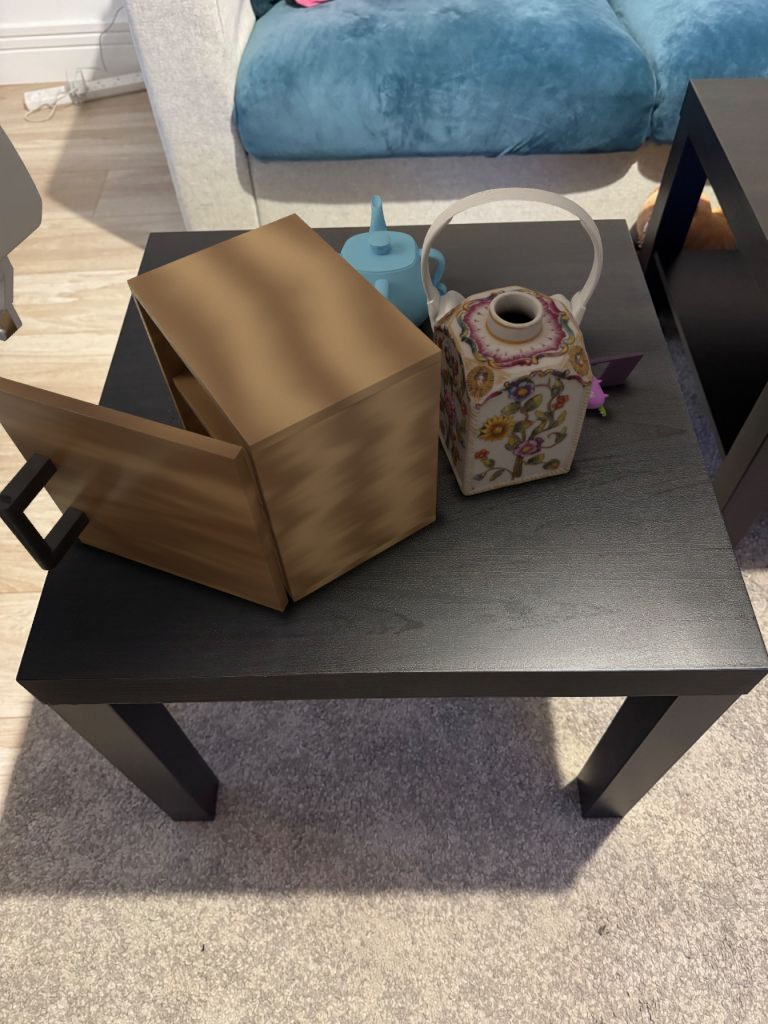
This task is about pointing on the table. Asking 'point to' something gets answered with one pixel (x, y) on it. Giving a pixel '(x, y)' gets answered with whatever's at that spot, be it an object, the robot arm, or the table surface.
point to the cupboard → (302, 391)
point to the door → (137, 493)
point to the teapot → (393, 265)
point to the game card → (611, 376)
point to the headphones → (452, 298)
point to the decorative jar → (510, 388)
